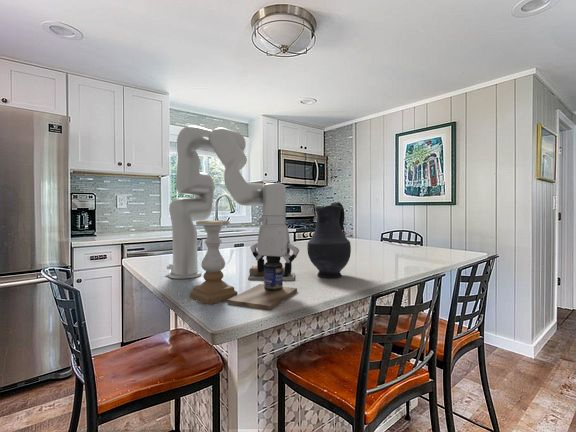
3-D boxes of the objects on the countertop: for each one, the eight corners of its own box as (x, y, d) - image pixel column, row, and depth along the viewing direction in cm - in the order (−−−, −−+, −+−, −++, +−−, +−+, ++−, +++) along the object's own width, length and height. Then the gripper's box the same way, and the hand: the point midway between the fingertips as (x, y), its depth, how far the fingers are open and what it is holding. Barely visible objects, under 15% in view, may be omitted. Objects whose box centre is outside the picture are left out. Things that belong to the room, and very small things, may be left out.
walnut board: (227, 303, 94) (227, 299, 94) (259, 287, 112) (259, 284, 112) (270, 310, 88) (270, 305, 88) (297, 291, 107) (297, 288, 107)
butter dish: (247, 268, 123) (251, 263, 133) (247, 281, 123) (251, 275, 133) (294, 269, 122) (295, 264, 132) (294, 281, 122) (295, 275, 132)
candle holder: (219, 290, 108) (218, 220, 107) (238, 297, 100) (237, 221, 99) (188, 297, 100) (188, 221, 99) (207, 305, 93) (206, 222, 92)
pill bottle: (278, 292, 102) (278, 257, 101) (261, 290, 104) (260, 256, 104) (285, 287, 108) (285, 254, 107) (268, 285, 110) (268, 253, 109)
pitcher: (299, 276, 128) (299, 202, 127) (324, 268, 145) (324, 202, 144) (339, 283, 119) (339, 201, 117) (360, 273, 136) (361, 202, 134)
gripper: (245, 221, 105) (245, 273, 105) (294, 222, 98) (294, 278, 99) (256, 220, 112) (256, 268, 112) (302, 221, 105) (302, 273, 105)
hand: (274, 273), depth 105 cm, fingers open, 9 cm apart
